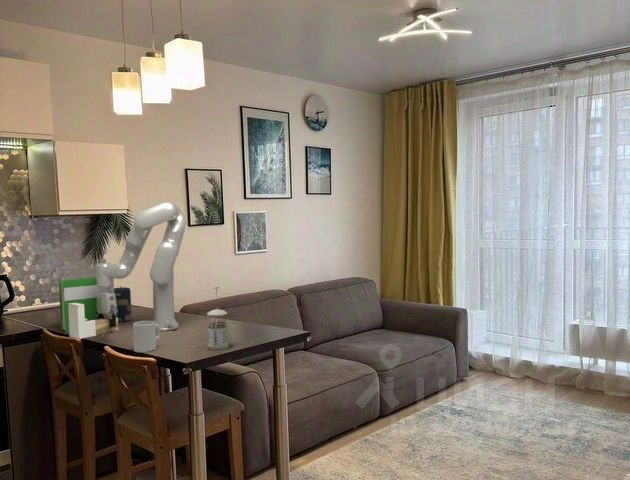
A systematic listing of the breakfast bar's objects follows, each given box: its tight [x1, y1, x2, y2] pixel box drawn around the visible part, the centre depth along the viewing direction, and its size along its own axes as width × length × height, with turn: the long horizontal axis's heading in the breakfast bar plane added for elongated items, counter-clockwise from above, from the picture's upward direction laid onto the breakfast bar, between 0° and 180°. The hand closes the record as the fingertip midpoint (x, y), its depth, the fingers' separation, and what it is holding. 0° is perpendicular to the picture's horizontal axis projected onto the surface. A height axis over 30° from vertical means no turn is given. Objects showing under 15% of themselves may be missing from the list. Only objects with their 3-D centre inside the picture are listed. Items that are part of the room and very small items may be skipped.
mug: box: [132, 320, 161, 353], centre depth 218 cm, size 12×8×11 cm
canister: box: [114, 285, 133, 323], centre depth 279 cm, size 10×10×18 cm
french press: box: [206, 285, 229, 347], centre depth 218 cm, size 10×12×25 cm
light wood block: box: [85, 317, 119, 336], centre depth 251 cm, size 4×16×7 cm, turn 143°
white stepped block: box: [68, 303, 97, 340], centre depth 244 cm, size 8×8×15 cm
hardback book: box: [58, 276, 97, 334], centre depth 261 cm, size 18×7×24 cm, turn 131°
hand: (106, 325), depth 254 cm, fingers open, 9 cm apart
